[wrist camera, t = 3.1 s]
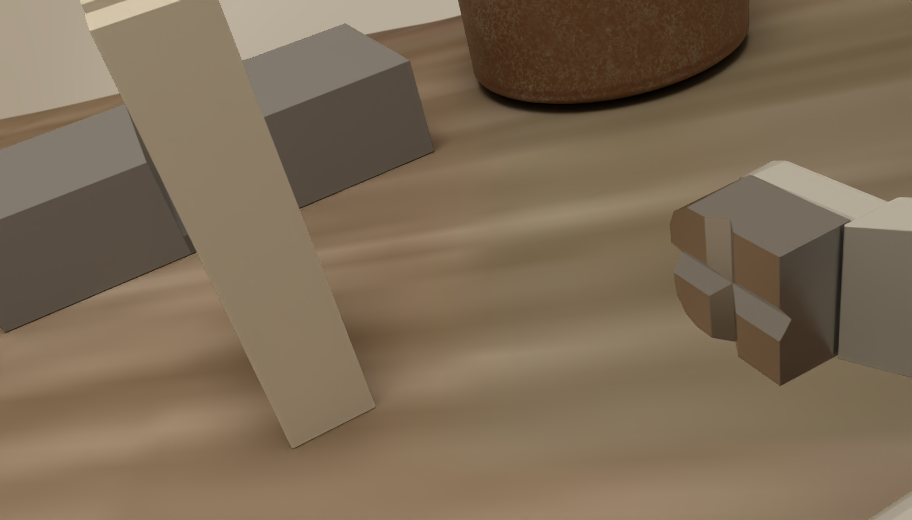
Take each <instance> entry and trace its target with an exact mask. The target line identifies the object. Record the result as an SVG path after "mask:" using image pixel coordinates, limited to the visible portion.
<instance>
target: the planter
mask: <svg viewBox="0 0 912 520" xmlns="http://www.w3.org/2000/svg"><path fill="white" fill-rule="evenodd" d="M458 1H459V6H460V11H461V15H462V20H463V24H464V29H465V33H466V38H467V42H468V46H469V51H470V55H471V60H472V64H473V69H474V73H475V76H476V78H477V79H478V81H479V82H480V83H481V84H482V85H483V86H484V87H486V88H487V89H488V90H490V91H492V92H494V93H497V94H499V95H502V96H505V97H508V98H512V99H516V100H520V101H526V102H534V103H547V104H578V103H592V102H601V101H608V100H615V99H620V98H625V97H630V96H635V95H639V94H643V93H646V92H650V91H653V90H656V89H660V88H663V87H666V86H669V85H672V84H674V83H677V82H680V81H682V80H685V79H687V78H690V77H692V76H694V75H696V74H699V73H701V72H703V71H705V70H706V69H708V68H710V67H712V66H713V65H715V64H717V63H718V62H720V61H721V60H723V59H724V58H725V57H727V56H728V55H729V54H731V53H732V52H733V51H734V50H735V49H736V48H737V47H738V46H739V45H740V44H741V43H742V41H743V40H744V38H745V36H746V34H747V32H748V29H749V0H458Z"/></svg>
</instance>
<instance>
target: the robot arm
mask: <svg viewBox="0 0 912 520" xmlns="http://www.w3.org/2000/svg"><path fill="white" fill-rule="evenodd" d="M670 233H671V243H673V244H674V245H675V246H676V247H677V248H678V249H680V250H681V251H682V252H683V253H682V255H681V257H680V259H679V262H678V264H677V266H676V269H675V271H674V277H675V284H676V292H677V296H678V298H679V300H680V302H681V304H682V306H683V308H684V310H685V312H686V314H687V315H688V317H689V318H690V319H691V320H692V321H693V322H694V324H695V325H696V326H697V327H698V328H700V329H701V330H702V331H704V332H705V333H706V334H708V335H709V336H710V337H712V338H716V339H722V340H728V341H734V342H736V347H737V352H738V357H740V358H741V359H742V360H744V361H745V362H747V363H748V364H749V365H751V366H752V367H754V368H755V369H757V370H758V371H759V372H761V373H762V374H764V375H765V376H767V377H768V378H769V379H771V380H772V381H774V382H775V383H776V384H778V385H779V386H781V385H783V384H785V383H787V382H789V381H790V380H792V379H794V378H796V377H798V376H800V375H802V374H803V373H805V372H807V371H809V370H811V369H813V368H815V367H816V366H818V365H820V364H822V363H824V362H826V361H828V360H829V359H831V358H833V357H835V356H837V355H838V359H841V360H845V361H849V362H853V363H857V364H861V365H864V366H868V367H872V368H876V369H880V370H884V371H888V372H892V373H895V374H899V375H903V376H907V377H911V378H912V198H905V197H898V198H896V199H894V200H892V201H890V202H887V201H884V200H882V199H879V198H877V197H874V196H872V195H870V194H867V193H865V192H862V191H860V190H857V189H855V188H852V187H850V186H847V185H845V184H842V183H840V182H837V181H835V180H833V179H830V178H828V177H825V176H823V175H820V174H818V173H815V172H813V171H810V170H808V169H805V168H803V167H801V166H798V165H796V164H793V163H791V162H788V161H771V162H769V163H767V164H765V165H763V166H762V167H760V168H758V169H756V170H754V171H752V172H750V173H748V174H746V175H744V176H742V177H740V179H739V180H737V181H735V182H733V183H731V184H729V185H727V186H725V187H723V188H721V189H719V190H717V191H715V192H713V193H711V194H709V195H707V196H705V197H702V198H700V199H698V200H696V201H694V202H692V203H690V204H688V205H686V206H684V207H682V208H680V209H678V210H676V211H674V212H673V215H672V219H671V222H670ZM868 520H912V491H910V492H909V493H907V494H906V495H904V496H903V497H901V498H900V499H898V500H897V501H895V502H894V503H892V504H891V505H889V506H888V507H886V508H885V509H883V510H882V511H880V512H879V513H877V514H875V515H874V516H872V517H871V518H869V519H868Z"/></svg>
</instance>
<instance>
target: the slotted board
mask: <svg viewBox="0 0 912 520" xmlns="http://www.w3.org/2000/svg"><path fill="white" fill-rule="evenodd" d="M242 62H243V65H244V67H245V70H246V72H247V75H248V78H249V80H250V83H251V85H252V88H253V91H254V93H255V96H256V98H257V101H258V103H259V106H260V109H261V111H262V114H263V116H264V119H265V122H266V124H267V127H268V129H269V132H270V135H271V137H272V140H273V142H274V145H275V147H276V150H277V153H278V155H279V158H280V160H281V163H282V166H283V168H284V171H285V173H286V176H287V178H288V181H289V184H290V186H291V189H292V191H293V194H294V197H295V199H296V202H297V204H298V207H299V208H301V207H303V206H305V205H308V204H310V203H313V202H315V201H317V200H320V199H322V198H324V197H327V196H329V195H331V194H334V193H336V192H339V191H341V190H343V189H346V188H348V187H350V186H353V185H355V184H357V183H360V182H362V181H365V180H367V179H369V178H372V177H374V176H376V175H379V174H381V173H383V172H386V171H388V170H391V169H393V168H395V167H398V166H400V165H402V164H405V163H407V162H409V161H412V160H414V159H417V158H419V157H421V156H424V155H426V154H428V153H431V152H433V151H434V149H433V146H432V142H431V138H430V135H429V131H428V127H427V123H426V120H425V116H424V112H423V108H422V105H421V101H420V97H419V93H418V90H417V86H416V82H415V78H414V75H413V71H412V67H411V64H410V60H408V59H406V58H404V57H403V56H401V55H399V54H397V53H396V52H394V51H392V50H390V49H389V48H387V47H385V46H383V45H382V44H380V43H378V42H377V41H375V40H373V39H371V38H370V37H368V36H366V35H364V34H362V33H361V32H359V31H357V30H356V29H354V28H352V27H350V26H349V25H347V24H343V25H340V26H337V27H334V28H332V29H329V30H326V31H323V32H321V33H318V34H315V35H312V36H310V37H307V38H304V39H302V40H299V41H296V42H293V43H291V44H288V45H285V46H282V47H280V48H277V49H274V50H271V51H269V52H266V53H263V54H260V55H258V56H255V57H252V58H250V59H247V60H244V61H242ZM194 252H196V249H195V247H194V245H193V243H192V241H191V239H190V237H189V235H188V233H187V231H186V229H185V227H184V225H183V223H182V221H181V219H180V216H179V214H178V212H177V210H176V208H175V206H174V204H173V202H172V200H171V198H170V196H169V194H168V192H167V190H166V188H165V185H164V183H163V181H162V179H161V177H160V175H159V173H158V171H157V169H156V167H155V165H154V163H153V161H152V159H151V157H150V155H149V152H148V150H147V148H146V146H145V144H144V142H143V140H142V138H141V136H140V134H139V132H138V130H137V128H136V126H135V124H134V121H133V119H132V117H131V115H130V113H129V111H128V109H127V107H126V105H125V104H124V105H121V106H118V107H116V108H113V109H110V110H107V111H105V112H102V113H99V114H96V115H94V116H91V117H88V118H86V119H83V120H80V121H77V122H75V123H72V124H69V125H66V126H64V127H61V128H58V129H55V130H53V131H50V132H47V133H45V134H42V135H39V136H36V137H34V138H31V139H28V140H25V141H23V142H20V143H17V144H14V145H12V146H9V147H6V148H4V149H1V150H0V327H1V328H2V330H3V331H4V332H7V331H10V330H12V329H15V328H17V327H19V326H22V325H24V324H26V323H29V322H31V321H33V320H36V319H38V318H41V317H43V316H45V315H48V314H50V313H52V312H55V311H57V310H59V309H62V308H64V307H67V306H69V305H71V304H74V303H76V302H78V301H81V300H83V299H85V298H88V297H90V296H93V295H95V294H97V293H100V292H102V291H104V290H107V289H109V288H111V287H114V286H116V285H119V284H121V283H123V282H126V281H128V280H130V279H133V278H135V277H137V276H140V275H142V274H145V273H147V272H149V271H152V270H154V269H156V268H159V267H161V266H164V265H166V264H168V263H171V262H173V261H175V260H178V259H180V258H182V257H185V256H187V255H190V254H192V253H194Z"/></svg>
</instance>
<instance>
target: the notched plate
mask: <svg viewBox="0 0 912 520" xmlns="http://www.w3.org/2000/svg"><path fill="white" fill-rule="evenodd" d="M80 2H81V5H82V7H83V9H84V11H85V13H86V14H85V18H86V21H87V24H88V27H89V30H90V33H91V35H92V37H93V39H94V41H95V43H96V45H97V47H98V49H99V51H100V53H101V55H102V57H103V60H104V62H105V64H106V66H107V68H108V70H109V72H110V74H111V76H112V78H113V80H114V82H115V84H116V86H117V88H118V91H119V93H120V95H121V97H122V99H123V101H124V103H125V105H126V107H127V109H128V111H129V113H130V115H131V117H132V119H133V121H134V124H135V126H136V128H137V130H138V132H139V134H140V136H141V138H142V140H143V142H144V144H145V146H146V148H147V150H148V152H149V155H150V157H151V159H152V161H153V163H154V165H155V167H156V169H157V171H158V173H159V175H160V177H161V179H162V181H163V183H164V185H165V188H166V190H167V192H168V194H169V196H170V198H171V200H172V202H173V204H174V206H175V208H176V210H177V212H178V214H179V216H180V219H181V221H182V223H183V225H184V227H185V229H186V231H187V233H188V235H189V237H190V239H191V241H192V243H193V245H194V247H195V249H196V252H197V254H198V256H199V258H200V260H201V262H202V264H203V266H204V268H205V270H206V272H207V274H208V276H209V278H210V280H211V283H212V285H213V287H214V289H215V291H216V293H217V295H218V297H219V299H220V301H221V303H222V305H223V307H224V309H225V311H226V313H227V316H228V318H229V320H230V322H231V324H232V326H233V328H234V330H235V332H236V334H237V336H238V338H239V340H240V342H241V344H242V347H243V349H244V351H245V353H246V355H247V357H248V359H249V361H250V363H251V365H252V367H253V369H254V371H255V373H256V375H257V377H258V380H259V382H260V384H261V386H262V388H263V390H264V392H265V394H266V396H267V398H268V400H269V402H270V404H271V406H272V408H273V410H274V413H275V415H276V417H277V419H278V421H279V423H280V425H281V427H282V429H283V431H284V433H285V435H286V437H287V439H288V441H289V444H290V446H291V448H292V449H293V448H295V447H297V446H299V445H301V444H303V443H305V442H307V441H309V440H311V439H313V438H315V437H317V436H319V435H321V434H323V433H325V432H327V431H329V430H331V429H333V428H335V427H337V426H339V425H341V424H343V423H345V422H347V421H349V420H351V419H353V418H355V417H357V416H359V415H361V414H363V413H365V412H367V411H369V410H371V409H373V408H375V407H376V406H375V403H374V401H373V398H372V396H371V393H370V390H369V388H368V385H367V383H366V380H365V378H364V375H363V372H362V370H361V367H360V365H359V362H358V359H357V357H356V354H355V352H354V349H353V347H352V344H351V341H350V339H349V336H348V334H347V331H346V328H345V326H344V323H343V321H342V318H341V316H340V313H339V310H338V308H337V305H336V303H335V300H334V297H333V295H332V292H331V290H330V287H329V284H328V282H327V279H326V277H325V274H324V272H323V269H322V266H321V264H320V261H319V259H318V256H317V253H316V251H315V248H314V246H313V243H312V241H311V238H310V235H309V233H308V230H307V228H306V225H305V222H304V220H303V217H302V215H301V212H300V209H299V207H298V204H297V202H296V199H295V197H294V194H293V191H292V189H291V186H290V184H289V181H288V178H287V176H286V173H285V171H284V168H283V166H282V163H281V160H280V158H279V155H278V153H277V150H276V147H275V145H274V142H273V140H272V137H271V135H270V132H269V129H268V127H267V124H266V122H265V119H264V116H263V114H262V111H261V109H260V106H259V103H258V101H257V98H256V96H255V93H254V91H253V88H252V85H251V83H250V80H249V78H248V75H247V72H246V70H245V67H244V65H243V62H242V60H241V57H240V54H239V52H238V49H237V47H236V44H235V42H234V39H233V36H232V34H231V31H230V29H229V26H228V24H227V21H226V18H225V16H224V13H223V10H222V8H221V5H220V3H219V0H80Z"/></svg>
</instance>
